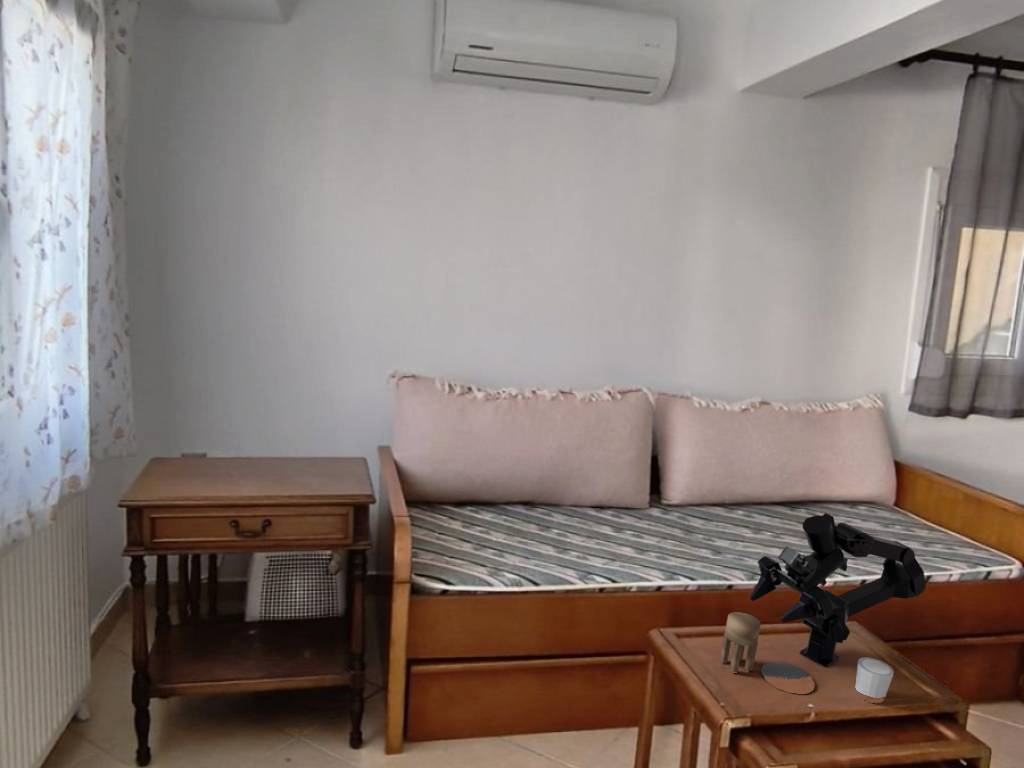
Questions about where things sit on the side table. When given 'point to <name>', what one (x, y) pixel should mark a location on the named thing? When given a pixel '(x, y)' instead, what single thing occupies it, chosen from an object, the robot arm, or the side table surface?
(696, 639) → the side table surface
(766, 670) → the mat
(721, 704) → the side table surface
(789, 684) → the side table surface
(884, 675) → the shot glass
